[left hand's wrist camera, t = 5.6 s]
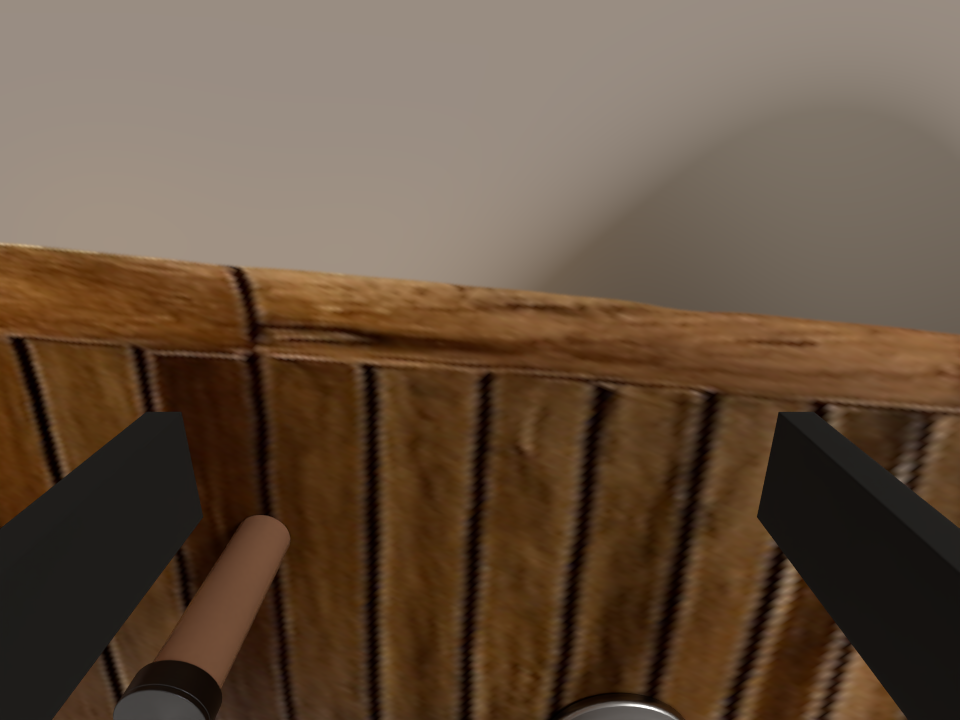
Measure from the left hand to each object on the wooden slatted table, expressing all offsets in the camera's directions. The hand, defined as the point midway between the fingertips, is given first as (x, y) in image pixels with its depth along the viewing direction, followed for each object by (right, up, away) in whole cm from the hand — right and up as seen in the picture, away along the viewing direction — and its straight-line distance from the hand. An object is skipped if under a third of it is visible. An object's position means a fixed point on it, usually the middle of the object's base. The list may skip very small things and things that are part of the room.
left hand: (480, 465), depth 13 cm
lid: (-18, -18, +20) cm, 32 cm away
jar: (-18, -12, +35) cm, 41 cm away
